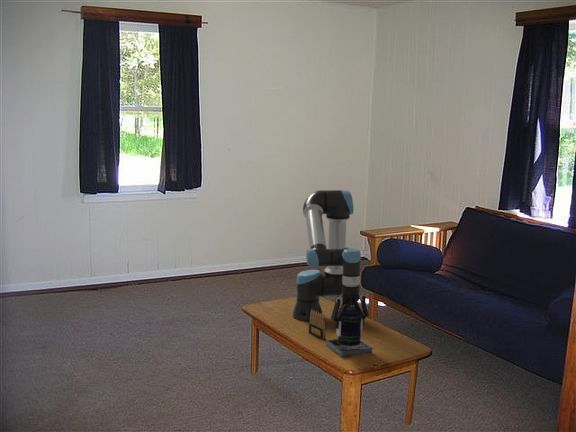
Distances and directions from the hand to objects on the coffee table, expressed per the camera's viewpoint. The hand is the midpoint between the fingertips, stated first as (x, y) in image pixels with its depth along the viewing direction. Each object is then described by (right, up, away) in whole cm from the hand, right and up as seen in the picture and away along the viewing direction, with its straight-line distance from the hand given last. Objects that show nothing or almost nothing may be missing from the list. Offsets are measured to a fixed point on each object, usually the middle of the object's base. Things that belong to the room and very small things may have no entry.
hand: (349, 333), depth 289 cm
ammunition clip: (-13, -4, +17) cm, 22 cm away
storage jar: (0, -4, +1) cm, 4 cm away
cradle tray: (0, -7, +1) cm, 7 cm away
